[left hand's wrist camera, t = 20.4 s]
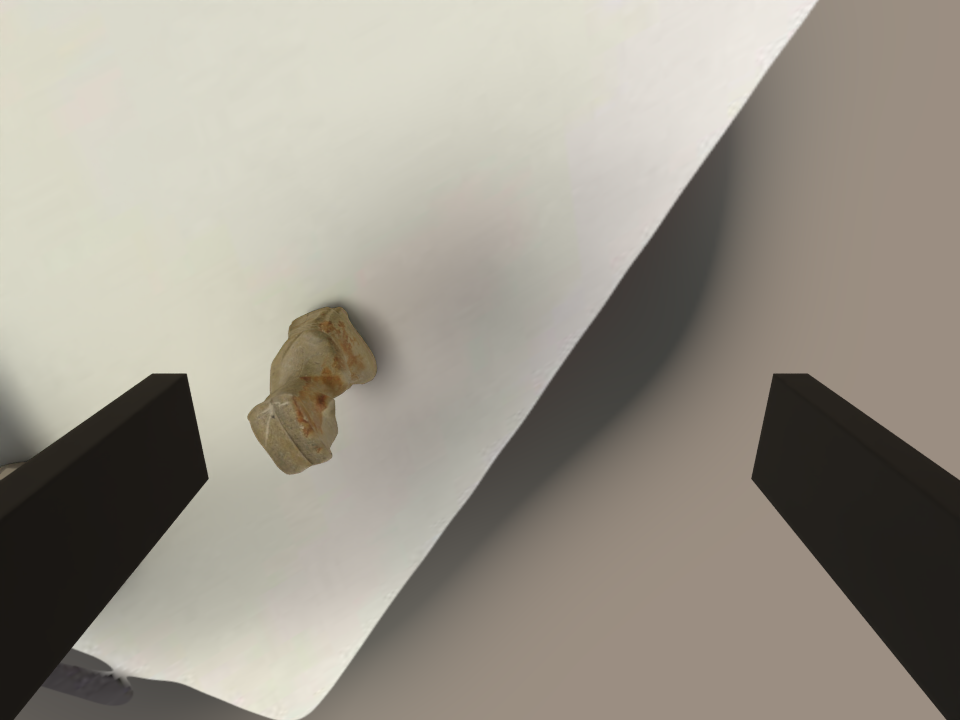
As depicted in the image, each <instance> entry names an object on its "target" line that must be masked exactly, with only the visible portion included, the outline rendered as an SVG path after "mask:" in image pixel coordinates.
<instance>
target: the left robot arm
mask: <svg viewBox="0 0 960 720" xmlns="http://www.w3.org/2000/svg"><path fill="white" fill-rule="evenodd" d="M208 479H209V478H208V473H207V468H206V464H205V459H204V454H203V449H202V445H201V440H200V435H199V430H198V426H197V421H196V416H195V411H194V407H193V402H192V397H191V392H190V388H189V383H188V378H187V374H151V375H150V376H148V377H147V378H145V379H144V380H143V381H141V382H140V383H138V384H137V385H135V386H134V387H133V388H131V389H130V390H128V391H127V392H125V393H124V394H123V395H121V396H120V397H118V398H117V399H115V400H114V401H113V402H111V403H110V404H108V405H107V406H105V407H104V408H103V409H101V410H100V411H98V412H97V413H95V414H94V415H93V416H91V417H90V418H88V419H87V420H86V421H84V422H83V423H81V424H80V425H78V426H77V427H76V428H74V429H73V430H71V431H70V432H68V433H67V434H66V435H64V436H63V437H61V438H60V439H58V440H57V441H56V442H54V443H53V444H51V445H50V446H48V447H47V448H46V449H44V450H43V451H41V452H40V453H39V454H37V455H36V456H34V457H33V458H31V459H30V460H29V461H27V462H18V463H12V464H8V465H5V466H2V467H0V720H14V718H15V717H16V716H17V715H18V714H19V712H20V711H21V710H22V709H23V707H24V706H25V705H26V704H27V702H28V701H29V700H30V699H31V698H32V696H33V695H34V694H35V693H36V691H37V690H38V689H39V688H40V686H41V685H42V684H43V683H44V681H45V680H46V679H47V678H48V677H49V675H50V674H51V673H52V672H53V670H54V669H55V668H56V667H57V665H58V664H59V663H60V662H61V660H62V659H63V658H64V657H65V656H66V654H67V653H68V652H69V651H70V649H71V648H72V647H73V646H74V644H75V643H76V642H77V641H78V639H79V638H80V637H81V636H82V635H83V633H84V632H85V631H86V630H87V628H88V627H89V626H90V625H91V623H92V622H93V621H94V620H95V618H96V617H97V616H98V615H99V614H100V612H101V611H102V610H103V609H104V607H105V606H106V605H107V604H108V602H109V601H110V600H111V599H112V597H113V596H114V595H115V594H116V593H117V591H118V590H119V589H120V588H121V586H122V585H123V584H124V583H125V581H126V580H127V579H128V578H129V576H130V575H131V574H132V573H133V572H134V570H135V569H136V568H137V567H138V565H139V564H140V563H141V562H142V560H143V559H144V558H145V557H146V555H147V554H148V553H149V552H150V551H151V549H152V548H153V547H154V546H155V544H156V543H157V542H158V541H159V539H160V538H161V537H162V536H163V534H164V533H165V532H166V531H167V530H168V528H169V527H170V526H171V525H172V523H173V522H174V521H175V520H176V518H177V517H178V516H179V515H180V514H181V512H182V511H183V510H184V509H185V507H186V506H187V505H188V504H189V502H190V501H191V500H192V499H193V497H194V496H195V495H196V494H197V493H198V491H199V490H200V489H201V488H202V486H203V485H204V484H205V483H206V481H207V480H208ZM751 479H752V480H753V481H754V483H755V484H756V485H757V486H758V488H759V489H760V490H761V491H762V492H763V494H764V495H765V496H766V497H767V499H768V500H769V501H770V502H771V503H772V505H773V506H774V507H775V509H776V510H777V511H778V512H779V514H780V515H781V516H782V517H783V518H784V520H785V521H786V522H787V523H788V525H789V526H790V527H791V528H792V530H793V531H794V532H795V533H796V534H797V536H798V537H799V538H800V539H801V541H802V542H803V543H804V544H805V546H806V547H807V548H808V549H809V551H810V552H811V553H812V554H813V555H814V557H815V558H816V559H817V560H818V562H819V563H820V564H821V565H822V567H823V568H824V569H825V570H826V572H827V573H828V574H829V575H830V576H831V578H832V579H833V580H834V581H835V583H836V584H837V585H838V586H839V588H840V589H841V590H842V591H843V593H844V594H845V595H846V596H847V597H848V599H849V600H850V601H851V602H852V604H853V605H854V606H855V607H856V609H857V610H858V611H859V612H860V614H861V615H862V616H863V617H864V618H865V620H866V621H867V622H868V623H869V625H870V626H871V627H872V628H873V630H874V631H875V632H876V633H877V634H878V636H879V637H880V638H881V639H882V641H883V642H884V643H885V644H886V646H887V647H888V648H889V649H890V651H891V652H892V653H893V654H894V655H895V657H896V658H897V659H898V660H899V662H900V663H901V664H902V665H903V667H904V668H905V669H906V670H907V672H908V673H909V674H910V675H911V677H912V678H913V679H914V680H915V681H916V683H917V684H918V685H919V686H920V688H921V689H922V690H923V691H924V692H925V694H926V695H927V696H928V697H929V699H930V700H931V701H932V702H933V704H934V705H935V706H936V707H937V709H938V710H939V711H940V712H941V714H942V715H943V716H944V717H945V719H946V720H960V480H958V479H957V478H956V477H954V476H953V475H951V474H950V473H949V472H947V471H946V470H944V469H943V468H941V467H940V466H939V465H937V464H936V463H934V462H933V461H931V460H930V459H929V458H927V457H926V456H924V455H923V454H921V453H920V452H919V451H917V450H916V449H914V448H913V447H912V446H910V445H909V444H907V443H906V442H904V441H903V440H902V439H900V438H899V437H897V436H896V435H894V434H893V433H892V432H890V431H889V430H887V429H886V428H884V427H883V426H882V425H880V424H879V423H877V422H876V421H874V420H873V419H872V418H870V417H869V416H867V415H866V414H865V413H863V412H862V411H860V410H859V409H857V408H856V407H855V406H853V405H852V404H850V403H849V402H847V401H846V400H845V399H843V398H842V397H840V396H839V395H837V394H836V393H835V392H833V391H832V390H830V389H829V388H827V387H826V386H825V385H823V384H822V383H820V382H819V381H817V380H816V379H815V378H813V377H812V376H810V375H809V374H773V378H772V383H771V388H770V392H769V397H768V402H767V407H766V411H765V416H764V421H763V426H762V430H761V435H760V440H759V445H758V449H757V454H756V459H755V464H754V468H753V473H752V478H751Z"/></svg>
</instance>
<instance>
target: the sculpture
mask: <svg viewBox="0 0 960 720" xmlns="http://www.w3.org/2000/svg"><path fill="white" fill-rule="evenodd" d="M376 372H377V366H376V361H375V358H374V356H373V354H372V352H371V350H370V349H369V347H368V346H367V344H366V343H365V341H364V340H363V339H362V337H361V336H360V334H359V333H358V332H357V331H356V329H355V328H354V327H353V325H352V324H351V322H350V320H349V318H348V314H347V312H346V311H345V310H344V309H343V308H342V307H336V308H329V307H325V308H321V309H318V310H315V311H312V312H310V313H307V314H305V315H303V316H301V317H299V318H297V319H295V320H294V321H293V322H292V324H291V325H290V327H289V332H288V340H287V341H286V342H285V343H284V345H283V346H282V348H281V349H280V351H279V352H278V354H277V355H276V357H275V359H274V360H273V362H272V364H271V370H270V395H269V396H268V397H267V398H266V400H265V401H264V402H262V403H260V404H258V405H256V406H255V407H254V408H253V409H252V410H251V411H250V413H249V414H248V420H249V421H250V424H251V428H252V430H253V432H254V434H255V436H256V438H257V439H258V441H259V442H260V444H261V445H262V446H263V448H264V449H265V450H266V451H267V453H268V454H269V455H270V457H271V458H272V460H273V461H274V462H275V464H276V465H277V467H278V468H279V469H280V470H282V471H283V472H284V473H286V474H289V475H290V474H297V473H300V472H302V471H304V470H305V469H307V468H308V467H310V466H312V465H316V464H320V463H323V462H327V461H328V460H330V459H331V458H332V453H331V450H330V447H331V445H332V443H333V441H334V440H335V438H336V436H337V434H338V427H337V422H336V418H335V400H334V399H333V398H335V397H337V396H339V395H341V394H342V393H343V392H345V391H346V390H347V389H349V388H350V387H351V386H352V384H364V383H367V382H369V381H371V380H372V379H373V378H374V377H375V375H376Z"/></svg>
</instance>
